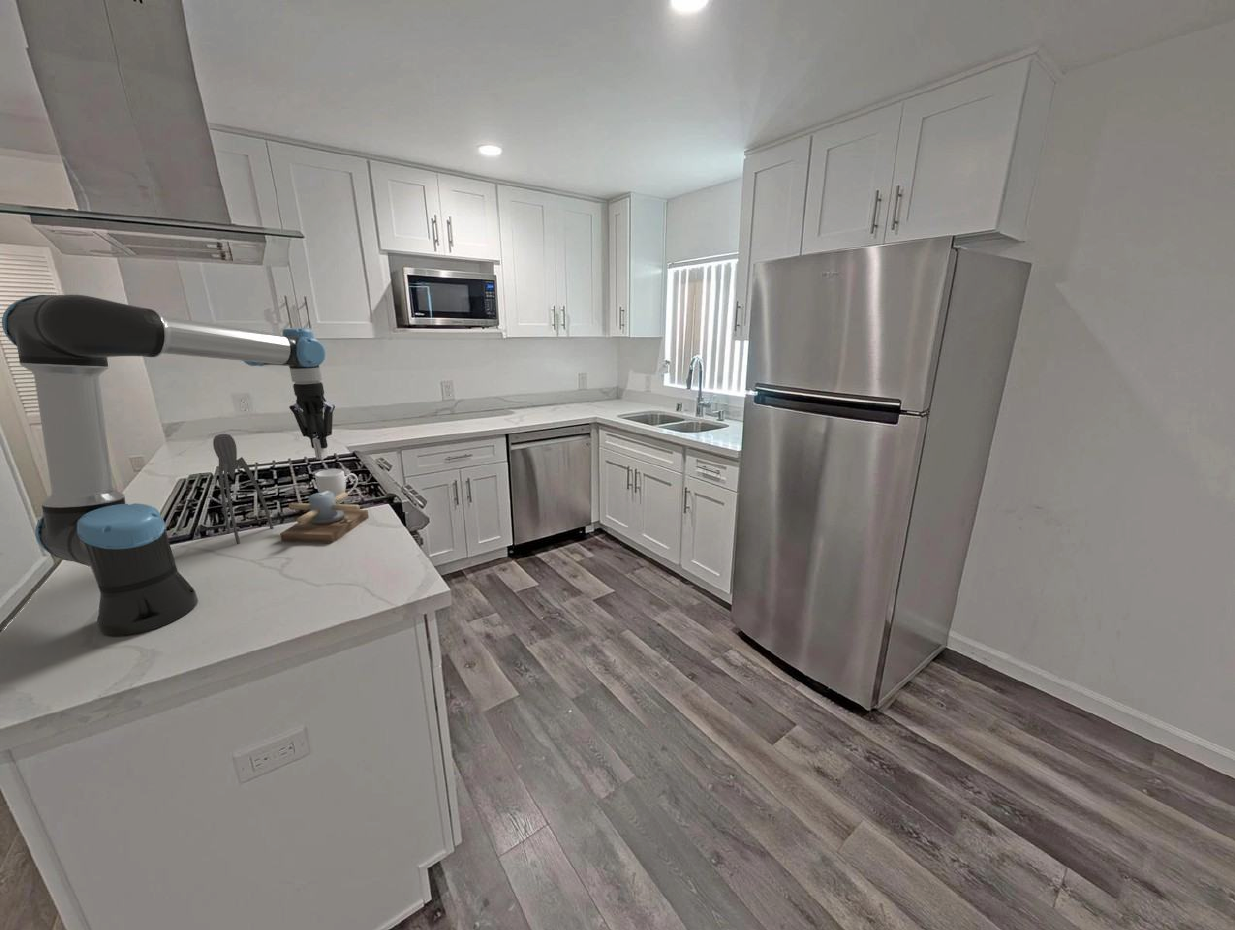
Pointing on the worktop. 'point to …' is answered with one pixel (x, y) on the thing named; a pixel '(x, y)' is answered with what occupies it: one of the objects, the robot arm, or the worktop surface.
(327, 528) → the stand
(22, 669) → the worktop surface
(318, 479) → the mug
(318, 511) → the capstan
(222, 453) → the citrus juicer
